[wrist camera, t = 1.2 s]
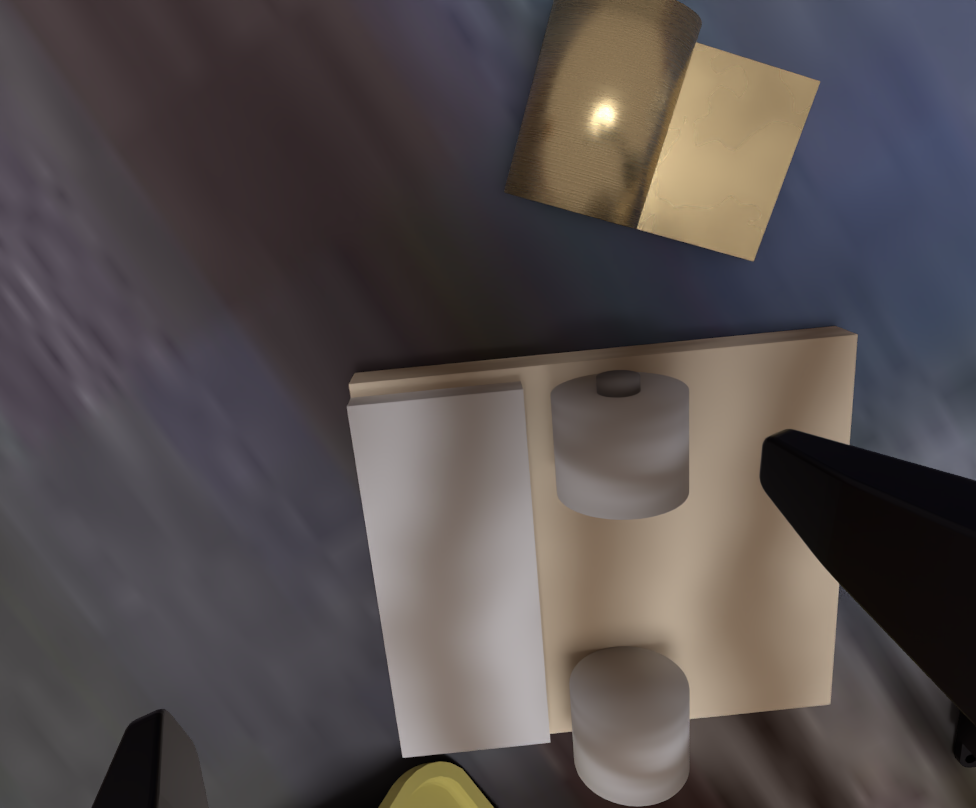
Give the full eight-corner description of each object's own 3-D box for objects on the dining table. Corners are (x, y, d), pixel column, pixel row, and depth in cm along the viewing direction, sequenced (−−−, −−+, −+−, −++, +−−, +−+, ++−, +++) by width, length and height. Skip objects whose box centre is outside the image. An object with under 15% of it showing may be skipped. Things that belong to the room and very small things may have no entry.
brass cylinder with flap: (548, 3, 23) (569, -37, 19) (808, 84, 24) (883, 64, 20) (499, 190, 24) (508, 193, 20) (744, 259, 26) (801, 274, 21)
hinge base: (835, 325, 26) (938, 366, 21) (813, 680, 31) (891, 790, 26) (354, 372, 26) (326, 426, 20) (408, 722, 31) (397, 842, 25)
